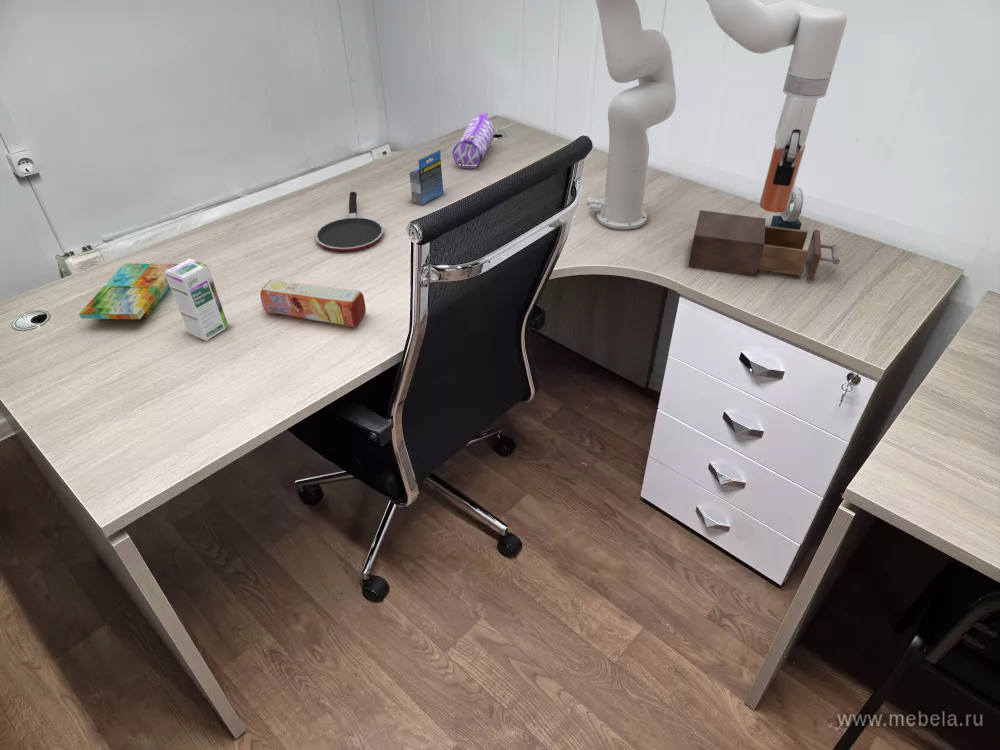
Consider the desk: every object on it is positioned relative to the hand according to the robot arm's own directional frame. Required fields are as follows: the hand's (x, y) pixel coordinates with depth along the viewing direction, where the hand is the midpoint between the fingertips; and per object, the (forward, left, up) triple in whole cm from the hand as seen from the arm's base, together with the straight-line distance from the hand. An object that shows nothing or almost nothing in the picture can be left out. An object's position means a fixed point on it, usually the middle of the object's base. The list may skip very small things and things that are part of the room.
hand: (781, 177), depth 136 cm
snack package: (-85, -44, -22) cm, 99 cm away
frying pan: (-97, -6, -22) cm, 100 cm away
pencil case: (-83, +46, -22) cm, 98 cm away
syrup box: (-103, -55, -22) cm, 119 cm away
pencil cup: (0, 0, -6) cm, 6 cm away
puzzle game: (-124, -51, -22) cm, 136 cm away
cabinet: (-7, +5, -22) cm, 24 cm away
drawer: (+7, +5, -21) cm, 23 cm away
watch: (+6, +23, -22) cm, 32 cm away
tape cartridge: (-85, +15, -22) cm, 90 cm away
